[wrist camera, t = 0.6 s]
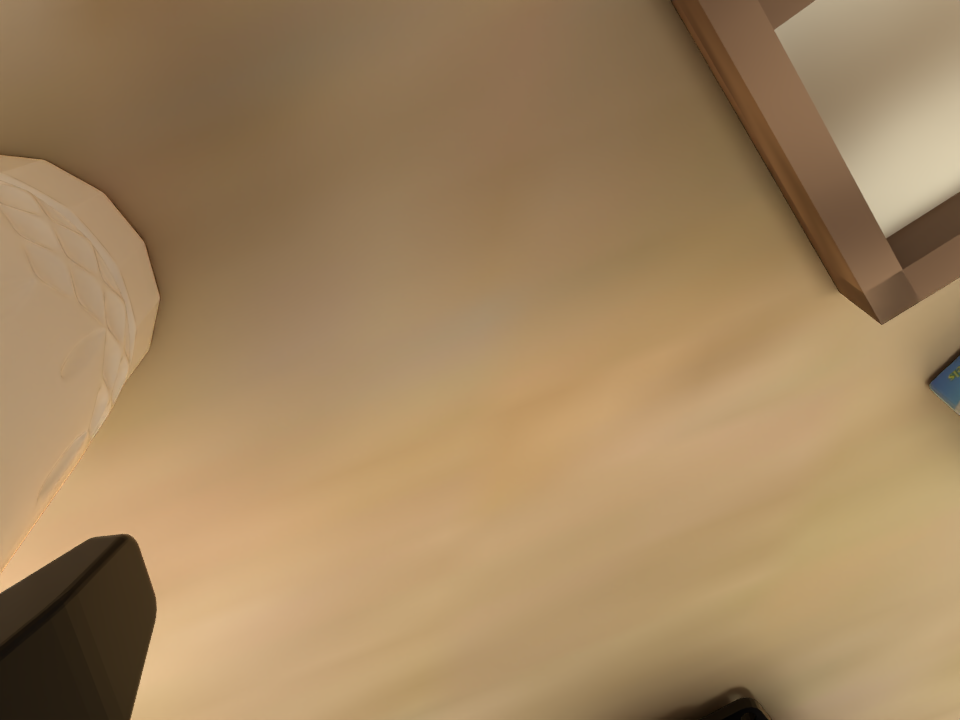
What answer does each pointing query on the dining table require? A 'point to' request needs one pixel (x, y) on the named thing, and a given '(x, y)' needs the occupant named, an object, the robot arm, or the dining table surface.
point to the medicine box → (949, 385)
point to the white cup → (61, 330)
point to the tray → (852, 130)
